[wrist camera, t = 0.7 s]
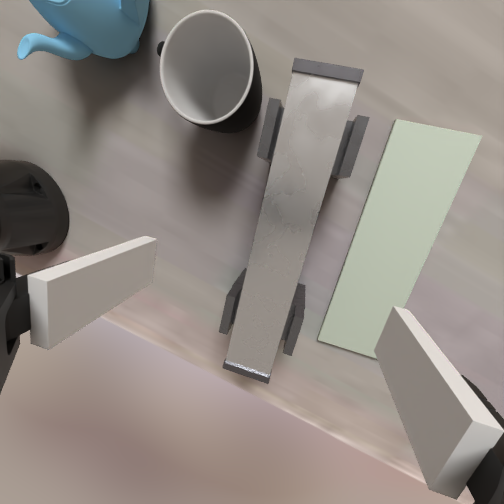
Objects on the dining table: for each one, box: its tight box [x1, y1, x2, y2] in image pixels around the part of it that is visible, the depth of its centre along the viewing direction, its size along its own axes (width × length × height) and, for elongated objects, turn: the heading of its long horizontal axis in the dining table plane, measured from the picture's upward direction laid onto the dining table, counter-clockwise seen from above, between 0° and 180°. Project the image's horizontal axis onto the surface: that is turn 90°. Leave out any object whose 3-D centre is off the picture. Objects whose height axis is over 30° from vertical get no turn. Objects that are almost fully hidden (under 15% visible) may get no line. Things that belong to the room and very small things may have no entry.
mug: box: [157, 10, 262, 133], centre depth 28 cm, size 12×9×10 cm
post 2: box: [257, 98, 370, 179], centre depth 28 cm, size 9×5×10 cm, turn 77°
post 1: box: [219, 268, 305, 356], centre depth 34 cm, size 9×5×10 cm, turn 77°
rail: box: [223, 58, 364, 384], centre depth 26 cm, size 30×5×5 cm, turn 167°
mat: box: [318, 119, 482, 359], centre depth 33 cm, size 9×30×1 cm, turn 167°
